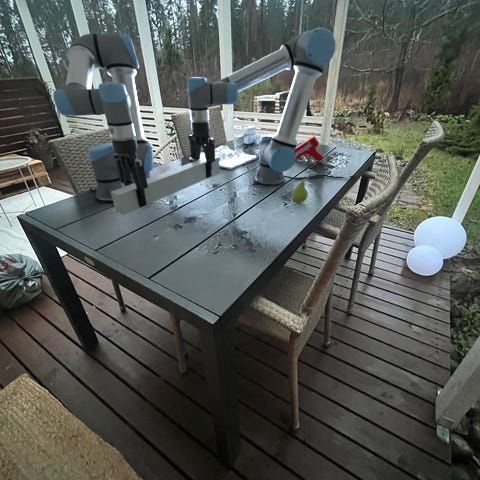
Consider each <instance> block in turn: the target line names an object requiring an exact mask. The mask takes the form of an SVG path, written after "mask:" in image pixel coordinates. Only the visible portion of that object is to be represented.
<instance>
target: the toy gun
mask: <svg viewBox="0 0 480 480" xmlns="http://www.w3.org/2000/svg"><path fill="white" fill-rule="evenodd" d="M319 144H320V141H319V140H318V138H317V137H316V136H315V135H313V136H312V137H310V138H309V139H307V140H306V141H304V142H302V143H301V144H300V145H297V146H296V149H295V151H294V152H295V155H296V159H297V160H298V159H300V158H302V157H303V156H304V158H305V159H308V158H309V157H312V158H313V159H314V160H315V161H316V163H319V162H321V161H323V158H324V154H323V153H321V152H320V151H319V150H318V149H317V147H319ZM317 160H319V162H318V161H317ZM320 160H321V161H320Z"/></svg>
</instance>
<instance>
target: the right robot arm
mask: <svg viewBox="0 0 480 480" xmlns="http://www.w3.org/2000/svg"><path fill="white" fill-rule="evenodd" d="M336 46H337V45H336V39H335V36H334V34H333V32H332V31H331V30H330V29H328V28H326V27H314V28H313V29H310V30H306V31H303V32H301V33H300V34H298V35H297V36H295V37H294V38H292V39H290V40H289V41H287V42H285V43H283V44H282V45H281V46H280V48H279V49H278V50H276V51H275V52H271V53H270V54H268V55H266V56H264V57H262V58H261V59H258V60H257V61H255V62H252V63H250V64H249V65H247V66H245V67H242V68H241V69H239V70H236V71H234V72H232V73H231V74H228V75H227V76H225V77H223V78H220V79H219V80H215V81H214V82H208V81H207V80H208V79H207V78H206V77H204V76H192V77H188V78H187V80H186V84H187V97H188V99H187V100H188V107H189V116H190V129H191V132H192V134H189V135H187V138H188V141H189V152H190V157H191V158H192V159H194V160H195V161H197V160H199V159H201V158H200V153H201V152H202V151H201V150H203V153H204V154H205V158H206V162H207V163H205V166H206V178H207V179H209V177H210V178H212V177H213V176H212V175H211V170H212V162H215V149H216V147H215V145H216V144H215V143H216V138H214V137H211V136H210V129H211V128H210V126H211V125H210V122H209V120H210V113H209V105H210V106H211V105H233V104H234V105H236V104H237V103H238V100H239V93H240V92H242V91H244V90H247V89H248V88H250V87H253V86H254V85H256V84H258V83H260V82H263V81H264V80H267V79H269V78H270V77H273V76H275V75H276V74H279V73H281V72H282V71H285V70H286V71H287V70H288V71H291V70H292V69H294V71H295V74H294V77H293V80H292V84H291V87H290V90H289V93H288V96H287V99H286V102H285V106H284V109H283V112H282V116H281V119H280V122H279V125H278V127H277V128H278V129H277V132H276V133H275V134H263V135H261V136H260V138H259V153H258V157H259V158H258V167H257V171H256V174H255V178H254V181H255V183H258V184H259V185H262V186H263V185H264V186H279V185H281V184H283V183H284V181H285V178H286V179H292V180H305V179H306V178H307V177H308V176H301V177H293V176H289V175H284V172H287V171H289V170H290V169H291V168H293V166H294V165H295V163H296V161H297V160H296V155H295V152H294V151H295V149H296V148H297V147H298V142H297V140H296V139H297V135H298V133H299V130H300V127H301V123H302V121H303V118H304V115H305V112H306V109H307V107H308V104H309V101H310V97H311V95H312V92H313V89H314V86H315V84H316V80H317V79H318V78H319V77H320V76H322V75H323V72H324V69H325V67H326V65H327V64H328V63H330V61H331V60H332V59H333V57H334V55H335V53H336ZM194 160H193V161H194ZM315 175H316V176H314V175H310V176H311V177H309V178H307V179H311V178H318V177H327V178H332V179H344V178H345V177H342V176H336V177H334V176H335V175H330V176H328V175H329V174H315ZM211 176H212V177H211ZM349 178H351V179H352V178H354V177H353V175H352V176H349Z"/></svg>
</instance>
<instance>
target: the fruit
mask: <svg viewBox="0 0 480 480" xmlns="http://www.w3.org/2000/svg"><path fill="white" fill-rule="evenodd" d="M310 176H311V175H310V174H309V175H307V176H306V177H307V178H305V179H301V181H300V182H298V184H297V185H296V186H295V187H294V188H293V190H292V191H291V198H292V200H293V201H294V202H295V203H297V204H301V203H304V202H305V201H306V200H307V198H308V196H309V195H308V190H307V189H306V184H305V183H306V180H308V179H310V178H309V177H310Z"/></svg>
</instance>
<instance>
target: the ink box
mask: <svg viewBox="0 0 480 480" xmlns="http://www.w3.org/2000/svg"><path fill="white" fill-rule="evenodd" d="M256 129H257V127H256V126H253V125H251V126H245V127H243V144H246V145H251V144H254V143H256Z"/></svg>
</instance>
